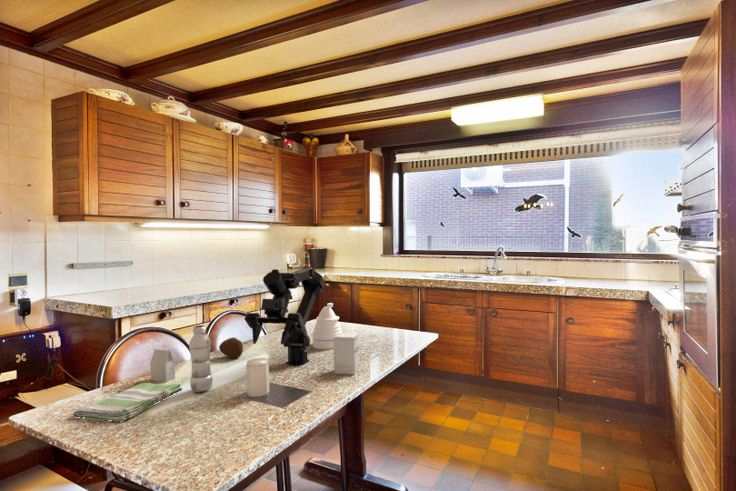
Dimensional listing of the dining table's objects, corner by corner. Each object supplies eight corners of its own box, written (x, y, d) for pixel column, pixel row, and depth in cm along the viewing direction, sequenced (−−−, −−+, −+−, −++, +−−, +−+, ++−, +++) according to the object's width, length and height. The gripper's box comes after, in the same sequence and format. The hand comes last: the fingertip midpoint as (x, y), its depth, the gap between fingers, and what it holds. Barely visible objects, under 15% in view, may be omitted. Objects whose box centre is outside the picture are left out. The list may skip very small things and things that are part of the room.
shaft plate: (235, 399, 120) (235, 384, 120) (267, 384, 131) (267, 371, 131) (282, 410, 111) (282, 395, 111) (312, 393, 122) (312, 379, 122)
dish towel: (70, 420, 110) (70, 407, 110) (137, 388, 132) (137, 377, 132) (123, 425, 106) (123, 411, 106) (183, 391, 128) (183, 380, 128)
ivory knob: (244, 392, 122) (243, 361, 122) (262, 387, 126) (261, 356, 126) (253, 398, 118) (252, 365, 118) (272, 392, 122) (271, 360, 122)
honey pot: (348, 343, 179) (347, 302, 178) (330, 350, 168) (329, 306, 167) (325, 339, 186) (324, 300, 185) (306, 346, 175) (305, 304, 174)
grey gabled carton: (166, 382, 136) (165, 352, 135) (151, 380, 138) (149, 350, 138) (175, 378, 139) (173, 349, 139) (160, 376, 142) (159, 347, 141)
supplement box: (354, 374, 138) (353, 337, 137) (333, 374, 139) (332, 337, 139) (359, 367, 145) (358, 332, 145) (339, 367, 146) (338, 331, 146)
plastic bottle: (191, 396, 123) (188, 329, 122) (189, 389, 129) (187, 325, 128) (214, 392, 126) (211, 327, 125) (211, 385, 132) (209, 323, 131)
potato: (236, 361, 157) (236, 340, 157) (215, 359, 160) (215, 339, 160) (248, 355, 164) (247, 336, 163) (228, 354, 167) (227, 334, 167)
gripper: (246, 288, 136) (230, 329, 125) (299, 288, 133) (288, 330, 122) (257, 308, 144) (243, 348, 133) (308, 308, 141) (298, 349, 130)
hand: (267, 343), depth 129 cm, fingers open, 9 cm apart
